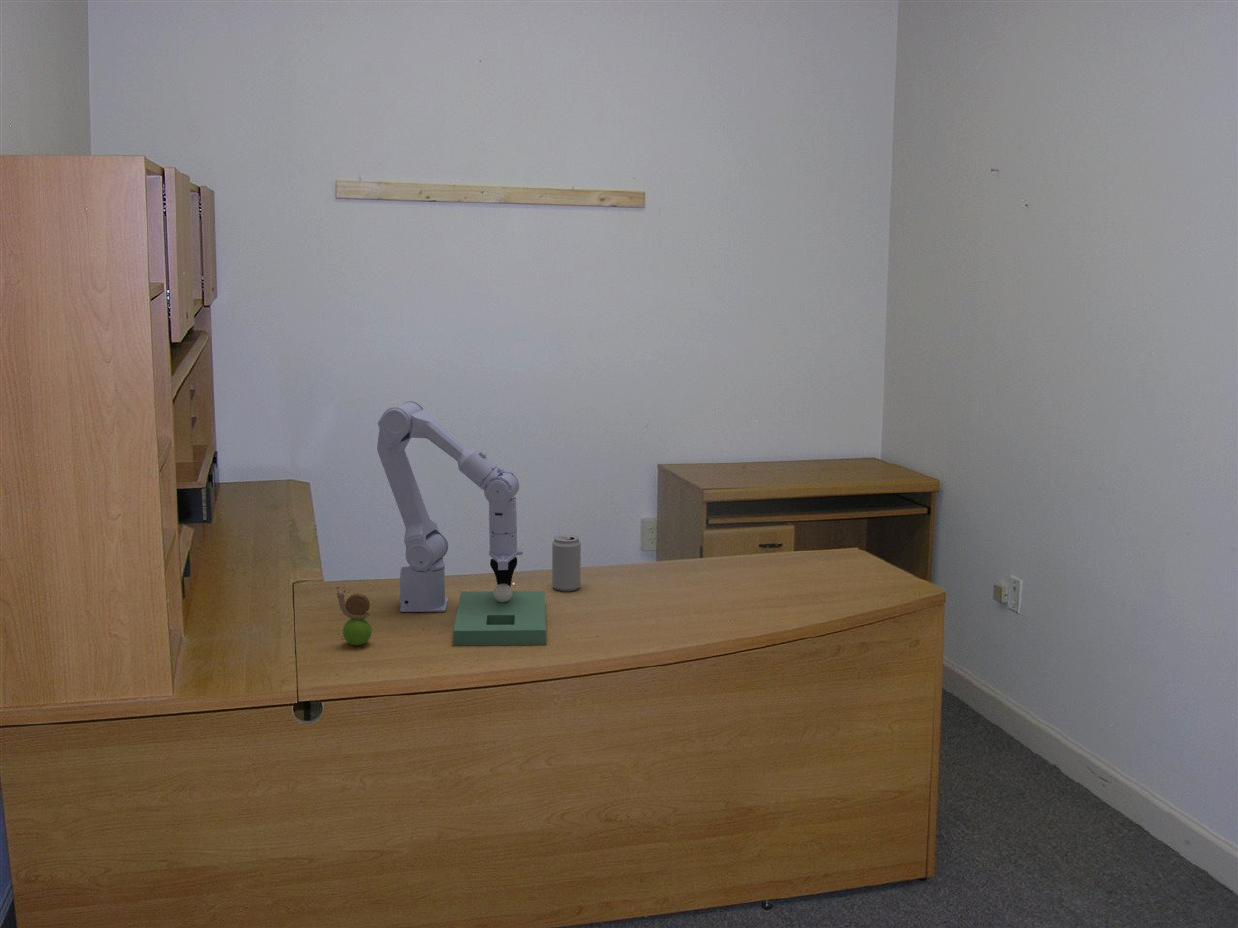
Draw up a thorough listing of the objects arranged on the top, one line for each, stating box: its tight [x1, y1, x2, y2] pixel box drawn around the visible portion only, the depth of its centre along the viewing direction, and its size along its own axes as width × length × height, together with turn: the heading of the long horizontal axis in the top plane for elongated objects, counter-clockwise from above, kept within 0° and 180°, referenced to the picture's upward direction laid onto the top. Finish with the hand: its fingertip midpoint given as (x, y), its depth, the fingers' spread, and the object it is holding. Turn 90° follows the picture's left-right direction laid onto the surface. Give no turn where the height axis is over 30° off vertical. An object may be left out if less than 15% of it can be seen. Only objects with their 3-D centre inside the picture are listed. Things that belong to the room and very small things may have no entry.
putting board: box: [452, 590, 547, 646], centre depth 226 cm, size 18×24×3 cm
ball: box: [493, 583, 513, 603], centre depth 230 cm, size 4×4×4 cm
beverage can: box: [551, 534, 582, 592], centre depth 248 cm, size 6×6×12 cm
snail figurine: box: [335, 584, 373, 647], centre depth 212 cm, size 5×6×12 cm
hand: (504, 592), depth 231 cm, fingers closed, pressing on ball
